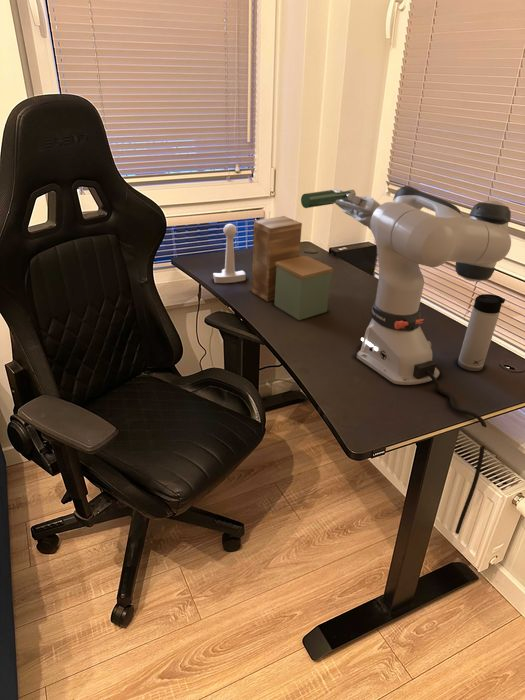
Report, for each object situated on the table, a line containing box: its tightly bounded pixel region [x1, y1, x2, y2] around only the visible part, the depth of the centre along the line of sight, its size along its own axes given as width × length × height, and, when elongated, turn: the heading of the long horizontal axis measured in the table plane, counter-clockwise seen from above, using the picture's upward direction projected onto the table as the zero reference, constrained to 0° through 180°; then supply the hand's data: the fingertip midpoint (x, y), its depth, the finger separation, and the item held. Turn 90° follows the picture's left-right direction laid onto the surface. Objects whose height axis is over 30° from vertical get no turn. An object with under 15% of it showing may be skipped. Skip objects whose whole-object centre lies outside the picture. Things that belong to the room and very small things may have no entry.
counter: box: [273, 255, 334, 321], centre depth 156 cm, size 13×12×14 cm
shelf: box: [251, 215, 303, 302], centre depth 163 cm, size 9×12×24 cm
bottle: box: [300, 189, 357, 209], centre depth 162 cm, size 20×4×4 cm, turn 126°
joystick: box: [212, 223, 247, 284], centre depth 174 cm, size 11×8×20 cm
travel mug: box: [457, 293, 506, 372], centre depth 128 cm, size 6×7×20 cm
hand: (343, 193), depth 165 cm, fingers closed on bottle, 2 cm apart
